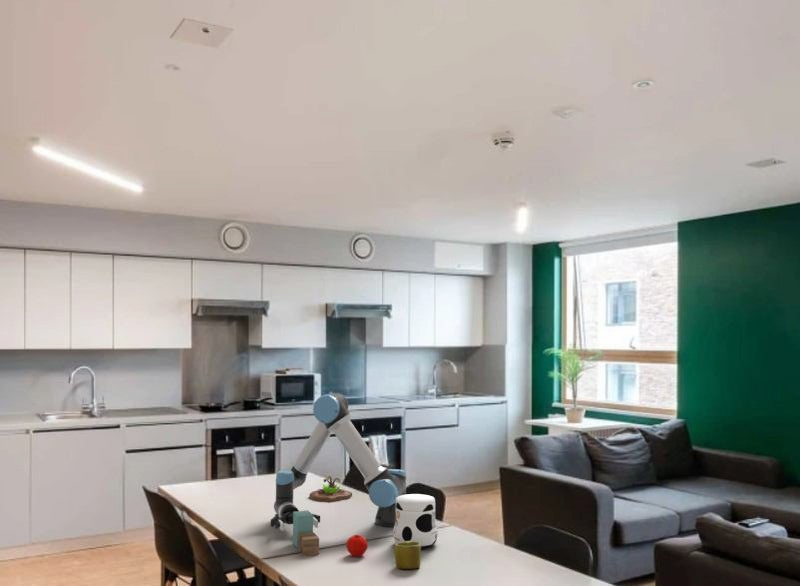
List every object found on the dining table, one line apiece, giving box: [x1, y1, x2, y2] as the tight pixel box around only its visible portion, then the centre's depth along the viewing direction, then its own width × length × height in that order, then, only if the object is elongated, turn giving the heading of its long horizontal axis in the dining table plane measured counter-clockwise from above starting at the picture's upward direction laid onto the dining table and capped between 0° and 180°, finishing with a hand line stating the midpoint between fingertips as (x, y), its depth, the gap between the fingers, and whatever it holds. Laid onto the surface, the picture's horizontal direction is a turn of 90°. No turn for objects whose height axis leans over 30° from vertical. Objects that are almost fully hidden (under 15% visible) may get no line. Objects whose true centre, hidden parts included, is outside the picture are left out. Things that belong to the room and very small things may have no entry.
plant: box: [308, 475, 353, 503], centre depth 357 cm, size 20×20×11 cm
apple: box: [345, 534, 368, 558], centre depth 261 cm, size 8×8×7 cm
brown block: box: [297, 531, 320, 557], centre depth 265 cm, size 9×6×6 cm
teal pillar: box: [292, 510, 314, 549], centre depth 274 cm, size 8×6×12 cm
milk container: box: [392, 493, 439, 549], centre depth 276 cm, size 17×17×18 cm
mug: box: [393, 541, 422, 570], centre depth 250 cm, size 12×10×10 cm
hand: (299, 525), depth 276 cm, fingers open, 13 cm apart
